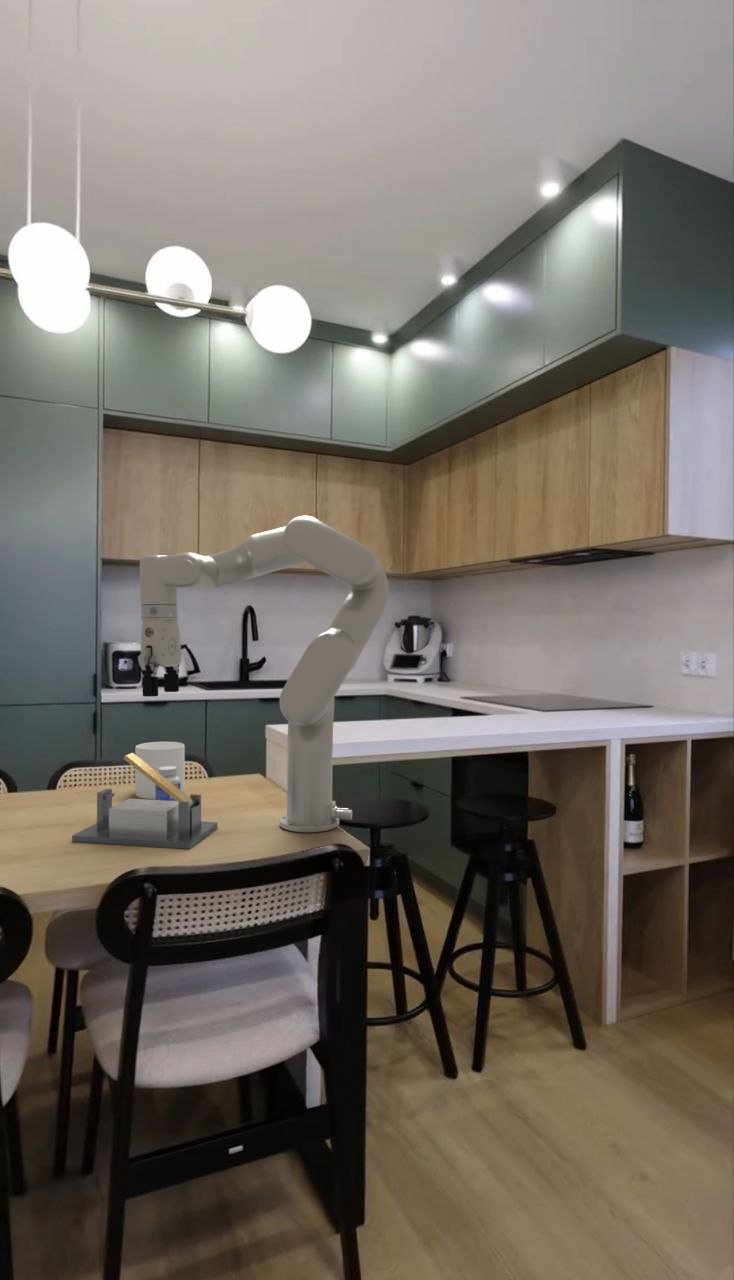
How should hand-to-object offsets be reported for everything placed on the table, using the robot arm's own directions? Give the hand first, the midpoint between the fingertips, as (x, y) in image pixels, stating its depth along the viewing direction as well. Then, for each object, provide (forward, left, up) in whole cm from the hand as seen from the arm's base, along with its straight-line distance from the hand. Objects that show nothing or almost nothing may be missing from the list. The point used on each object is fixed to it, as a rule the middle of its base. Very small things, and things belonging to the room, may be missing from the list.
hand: (161, 693), depth 153 cm
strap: (-4, +10, -17) cm, 20 cm away
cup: (+11, -23, -27) cm, 37 cm away
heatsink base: (-2, +10, -27) cm, 29 cm away
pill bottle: (+2, -8, -27) cm, 28 cm away
